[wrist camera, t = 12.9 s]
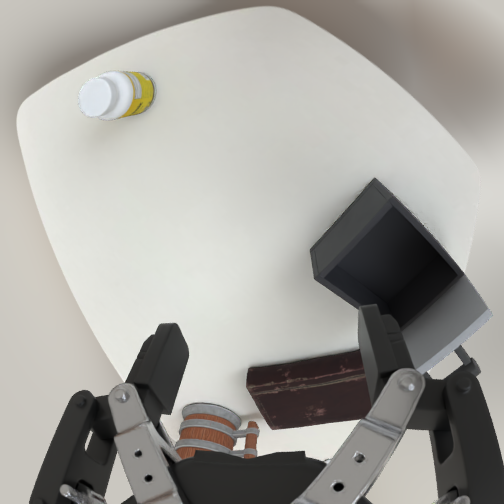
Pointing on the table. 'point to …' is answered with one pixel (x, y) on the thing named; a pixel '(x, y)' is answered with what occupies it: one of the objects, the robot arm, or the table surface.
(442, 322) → the lid
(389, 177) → the table surface
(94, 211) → the table surface
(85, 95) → the supplement bottle
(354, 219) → the dark grey open box
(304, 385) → the diary
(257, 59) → the table surface
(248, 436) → the mug
